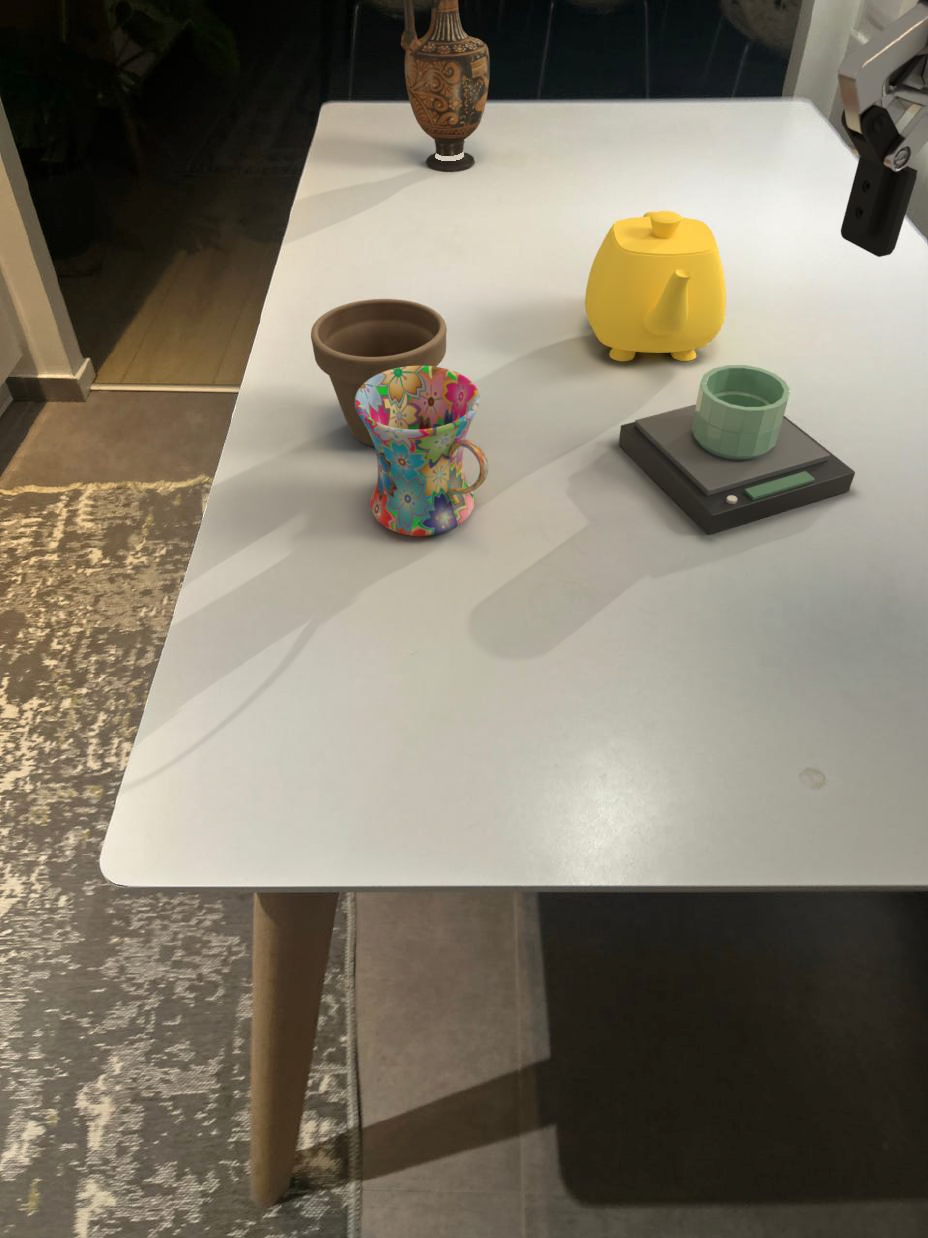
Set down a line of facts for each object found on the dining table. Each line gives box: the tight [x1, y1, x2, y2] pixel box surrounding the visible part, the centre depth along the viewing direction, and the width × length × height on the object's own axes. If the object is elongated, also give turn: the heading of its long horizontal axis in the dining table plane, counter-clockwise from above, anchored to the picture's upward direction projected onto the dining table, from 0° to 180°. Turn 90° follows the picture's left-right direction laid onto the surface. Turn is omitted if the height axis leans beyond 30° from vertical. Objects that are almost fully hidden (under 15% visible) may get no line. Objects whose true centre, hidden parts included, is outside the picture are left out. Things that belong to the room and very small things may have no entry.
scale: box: [618, 403, 856, 535], centre depth 79 cm, size 14×14×3 cm
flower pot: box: [310, 298, 448, 447], centre depth 81 cm, size 12×11×10 cm
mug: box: [355, 366, 489, 537], centre depth 71 cm, size 12×9×11 cm
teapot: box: [584, 210, 727, 362], centre depth 90 cm, size 14×20×13 cm
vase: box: [400, 0, 491, 172], centre depth 123 cm, size 12×12×30 cm
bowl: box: [692, 364, 791, 460], centre depth 76 cm, size 7×7×5 cm
